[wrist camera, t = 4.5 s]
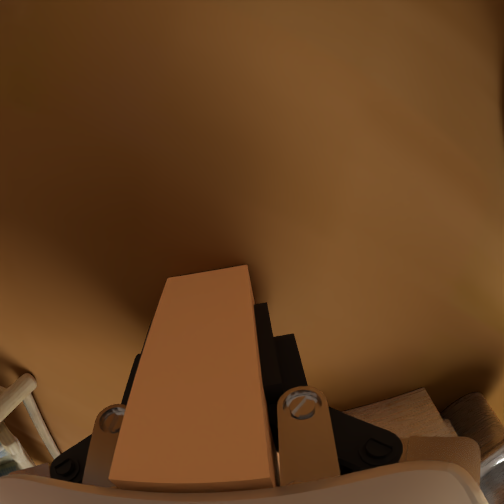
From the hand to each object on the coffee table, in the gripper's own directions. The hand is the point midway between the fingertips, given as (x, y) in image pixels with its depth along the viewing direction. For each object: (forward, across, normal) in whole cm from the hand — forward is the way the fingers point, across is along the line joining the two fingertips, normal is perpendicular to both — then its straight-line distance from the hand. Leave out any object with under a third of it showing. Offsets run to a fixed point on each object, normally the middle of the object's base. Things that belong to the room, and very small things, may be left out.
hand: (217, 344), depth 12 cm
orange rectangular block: (+1, 0, 0) cm, 1 cm away
